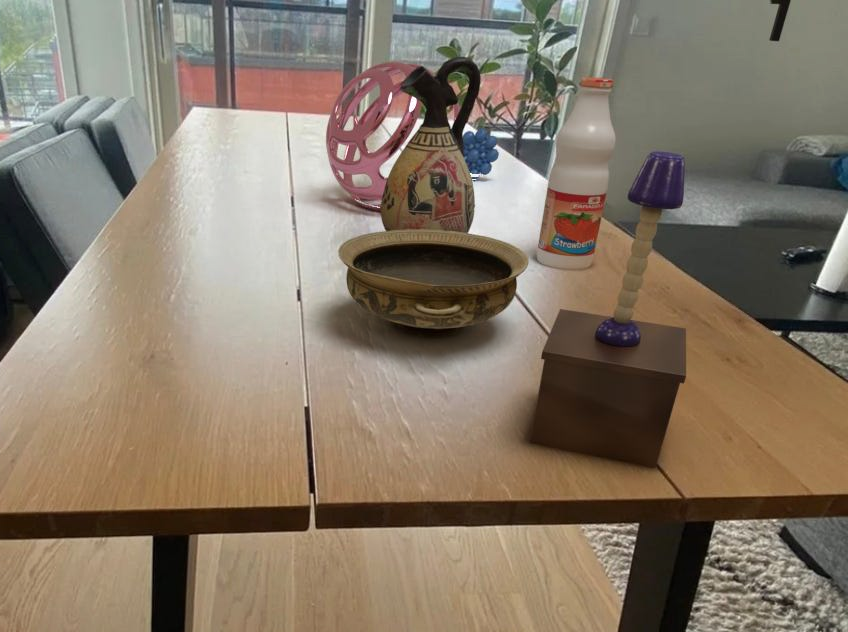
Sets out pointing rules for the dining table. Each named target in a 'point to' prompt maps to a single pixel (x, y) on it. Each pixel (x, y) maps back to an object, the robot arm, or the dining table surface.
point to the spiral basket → (370, 129)
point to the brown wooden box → (608, 389)
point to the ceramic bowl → (432, 277)
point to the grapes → (479, 151)
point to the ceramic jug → (434, 158)
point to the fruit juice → (578, 180)
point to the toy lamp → (644, 238)
